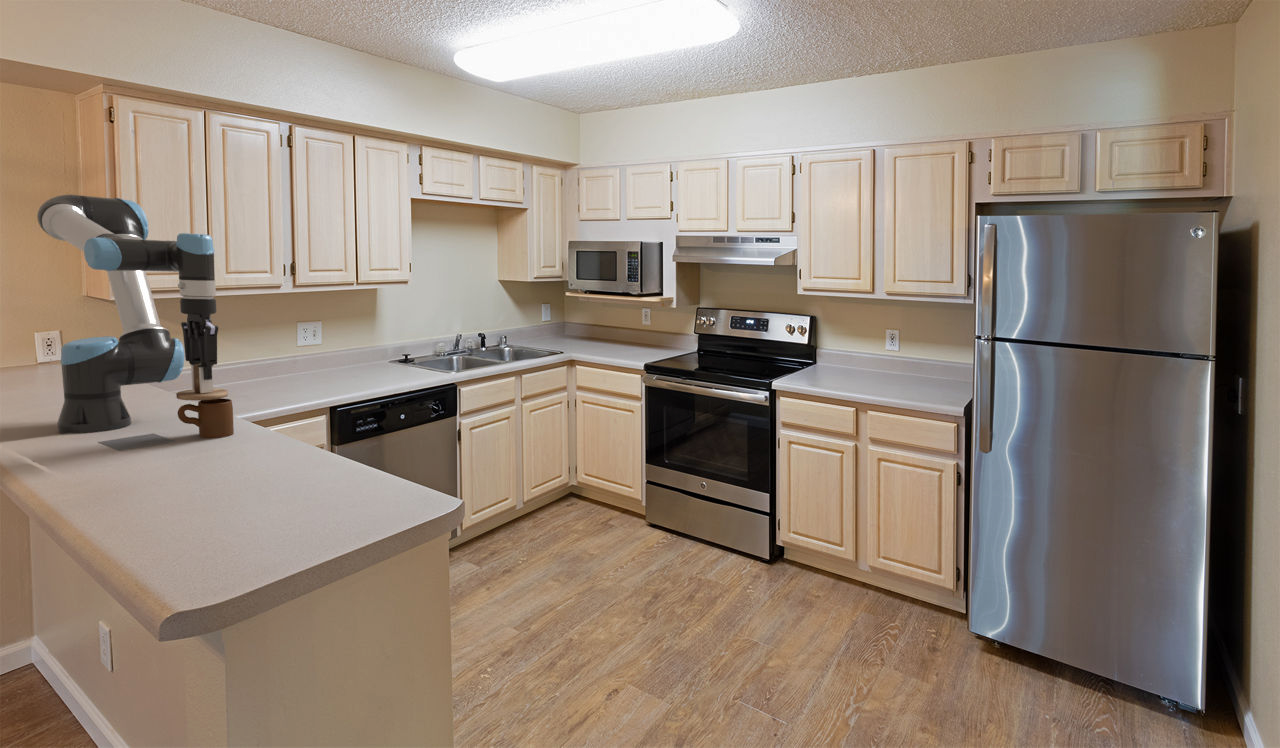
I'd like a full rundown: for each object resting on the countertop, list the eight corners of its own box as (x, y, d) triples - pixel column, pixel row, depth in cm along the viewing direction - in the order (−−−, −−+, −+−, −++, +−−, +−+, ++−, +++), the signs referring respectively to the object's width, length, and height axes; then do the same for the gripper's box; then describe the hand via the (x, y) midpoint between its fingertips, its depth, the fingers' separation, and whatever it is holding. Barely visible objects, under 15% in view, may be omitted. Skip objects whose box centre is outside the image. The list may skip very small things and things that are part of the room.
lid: (168, 396, 176) (166, 364, 174) (214, 390, 185) (212, 360, 184) (190, 402, 170) (188, 369, 169) (236, 396, 179) (235, 365, 178)
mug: (181, 444, 172) (179, 406, 171) (176, 438, 178) (174, 401, 176) (237, 438, 180) (235, 402, 179) (230, 432, 186) (228, 397, 184)
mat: (97, 444, 169) (97, 441, 169) (153, 435, 179) (153, 433, 179) (120, 453, 163) (119, 450, 162) (176, 443, 173) (176, 441, 172)
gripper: (165, 295, 175) (170, 389, 178) (198, 299, 166) (203, 397, 170) (197, 295, 181) (202, 385, 185) (231, 299, 172) (235, 393, 176)
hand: (202, 391), depth 177 cm, fingers closed on lid, 3 cm apart
